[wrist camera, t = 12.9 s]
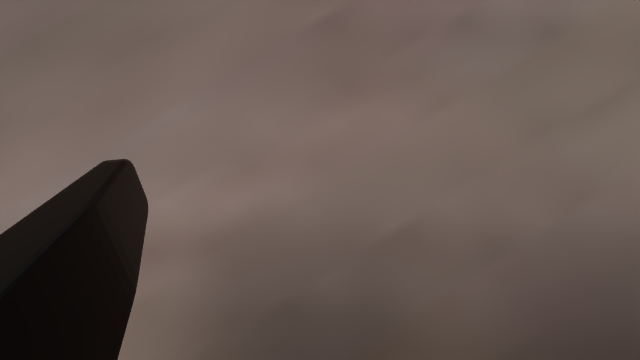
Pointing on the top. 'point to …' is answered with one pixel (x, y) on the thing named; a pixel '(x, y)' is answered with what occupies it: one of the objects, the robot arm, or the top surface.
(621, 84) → the top surface
